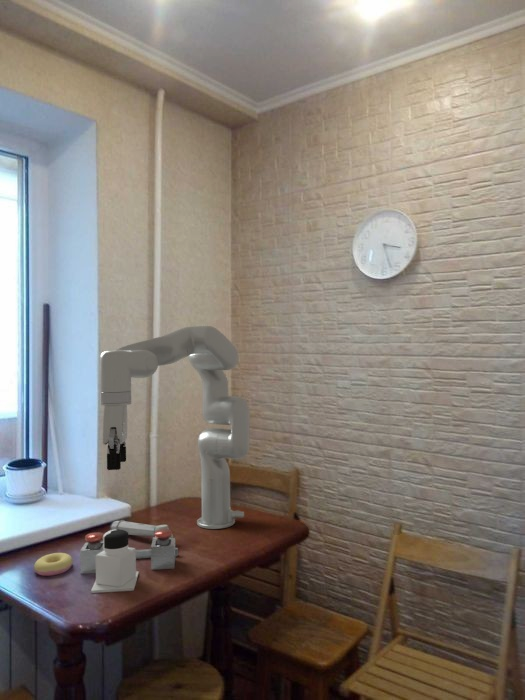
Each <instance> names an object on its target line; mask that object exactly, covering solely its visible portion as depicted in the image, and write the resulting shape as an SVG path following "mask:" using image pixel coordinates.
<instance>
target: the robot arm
mask: <svg viewBox="0 0 525 700" xmlns="http://www.w3.org/2000/svg"><path fill="white" fill-rule="evenodd" d="M186 358H188V359H189V362H190V364H191V366H192V367H193V369H195V371H196V372H197V373H198V375H199V376H200V379H201V382H202V417H203V420H204V422H206V424H207V423H208V424H211V425H222V426H230V428H221V427H220V428H219V427H218V428H217V427H212V428H211V427H210V428H206V429H204V430H202V431H201V432H200V434H199V435H198V438H197V449H198V453H199V458H200V459H199V460H200V473H201V475H200V476H201V477H200V480H201V482H200V487H201V488H200V489H201V492H200V493H201V497H200V498H201V516H200V517H199V518H198V519H197V520H196V524H197V526H198V527H200V528H203V529H208V530H209V529H210V530H218V529H226V528H230V527H231V526H233V525H234V524H235V523H236V518H241V519H242V518H245V511H241V510H233V509H232V507H231V483H230V482H231V471H230V467H229V464H228V462H227V459H229V460H242V459H244V458H245V457H246V456H247V455H248V453H249V449H250V430H251V429H250V427H251V426H250V422H251V421H250V420H251V418H250V417H251V413H250V406H249V403H248V401H247V400H246V399H245V398H244V397H241V396H233V395H231V396H230V395H229V380H228V377H227V375H226V373H225V372H224V371H229V370H230V371H231V370H233V369H234V368H236V367H237V365H238V363H239V352H238V350H237V348H236V345H234V344H233V343H232V341H230V339H228V337H226V335H225V334H223V333H222V332H221V331H220V330H219V329H217V328H215V327H214V326H211V325H203V326H202V325H199V326H195V325H193V326H186V327H183V328H180V329H178V330H175V331H173V332H170V333H167V334H163V335H162V336H158V337H154V338H149V339H146V340H141V341H138V342H135V343H131V344H127V345H125V346H121V347H119V348H116V349H114V350H106V351H103V352H101V354H100V406H103V407H104V408H103V416H102V417H103V419H102V421H103V422H102V444H103V445H104V446H105V445H107V449H106V451H107V452H106V470H108V471H117V470H118V471H119V470H121V468H122V467H121V465H122V463H124V462H125V463H126V462H127V446H126V443H127V442H126V441H127V437H128V405H132V379H135V378H136V379H144V378H149V377H151V376H153V375H154V374H155V373H156V372H157V370H158V367H159V366H160V367H161V366H166V365H172V364H174V363H177V362H179V361H181V360H182V359H186Z"/></svg>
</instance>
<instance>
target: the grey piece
mask: <svg viewBox="0 0 525 700" xmlns="http://www.w3.org/2000/svg"><path fill="white" fill-rule="evenodd" d="M116 529H121V530H125V531H127V532H128V536H129V535H131V536H144V537H152V540H153V539H157V538H155V536H154V532H155V531H157V530H160V529H169V530H170V528H169V525H168V524H160V525H153V524H145V523H140V522H139V523H138V522H133V521H125V519H121V520H114V521H112V522H111V523H110V525H109V531H111V530H116ZM169 538H174V535H173V534H172V536H171V537H169Z"/></svg>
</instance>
